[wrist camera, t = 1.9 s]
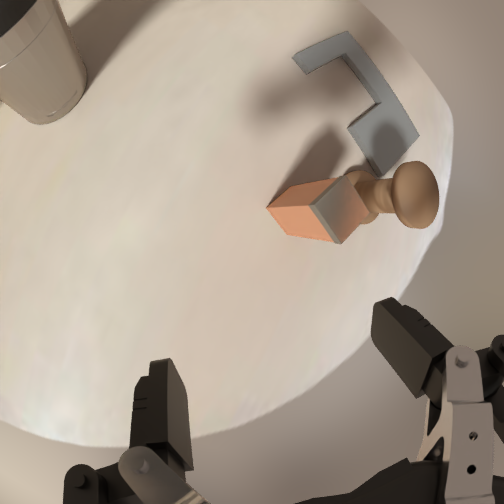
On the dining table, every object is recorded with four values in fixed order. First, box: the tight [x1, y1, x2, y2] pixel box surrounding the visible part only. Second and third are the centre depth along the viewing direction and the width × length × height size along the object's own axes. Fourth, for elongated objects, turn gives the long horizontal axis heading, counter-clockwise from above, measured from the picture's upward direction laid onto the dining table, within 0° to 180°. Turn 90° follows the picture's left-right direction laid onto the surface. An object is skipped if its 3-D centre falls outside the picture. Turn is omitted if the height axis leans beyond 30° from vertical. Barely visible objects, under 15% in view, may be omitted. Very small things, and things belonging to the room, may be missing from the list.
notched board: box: [292, 31, 420, 176], centre depth 34 cm, size 20×12×1 cm, turn 41°
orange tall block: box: [266, 175, 370, 244], centre depth 28 cm, size 4×4×11 cm
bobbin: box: [345, 161, 439, 229], centre depth 31 cm, size 7×7×11 cm
